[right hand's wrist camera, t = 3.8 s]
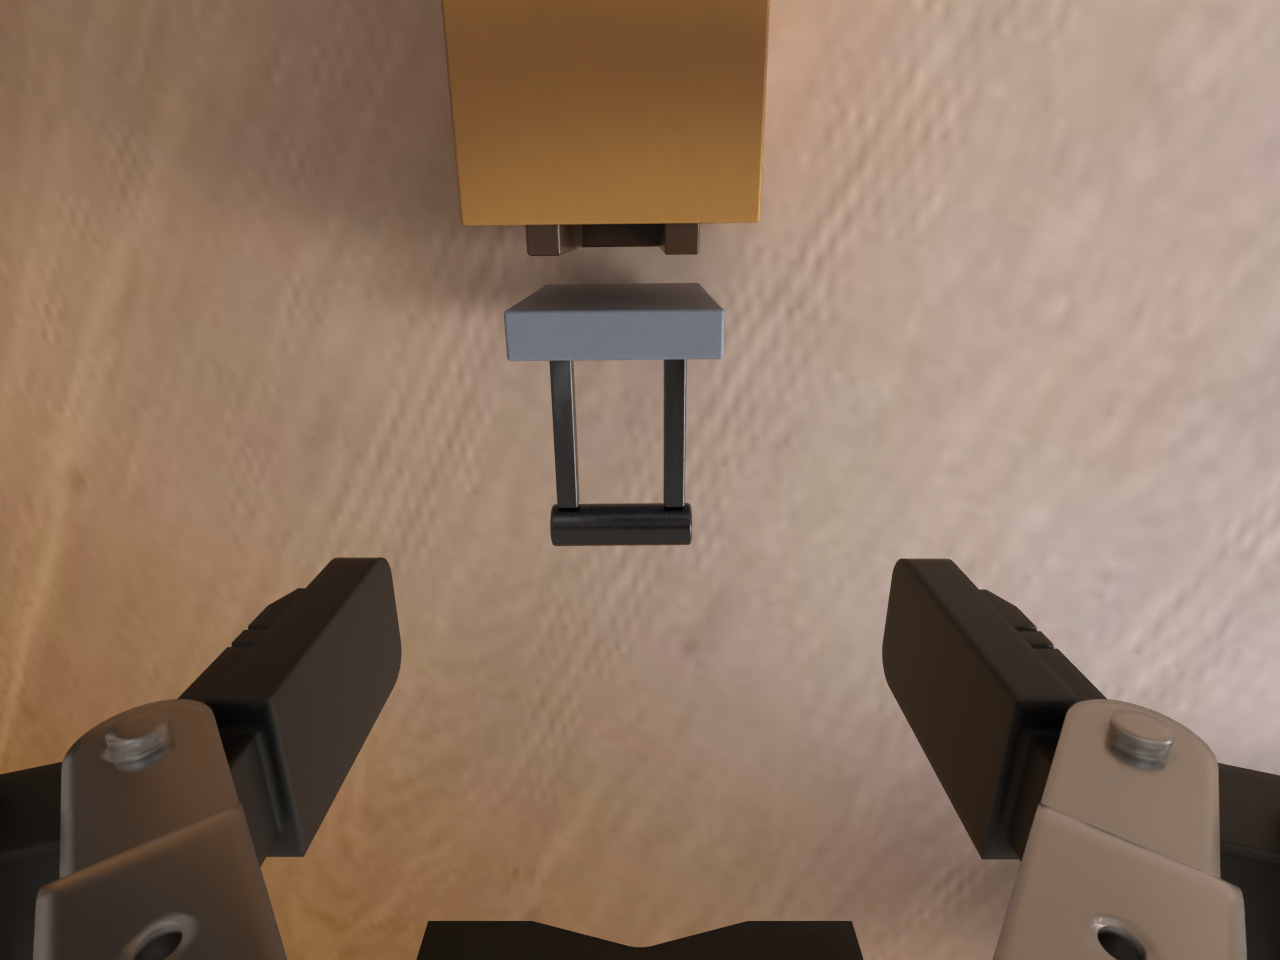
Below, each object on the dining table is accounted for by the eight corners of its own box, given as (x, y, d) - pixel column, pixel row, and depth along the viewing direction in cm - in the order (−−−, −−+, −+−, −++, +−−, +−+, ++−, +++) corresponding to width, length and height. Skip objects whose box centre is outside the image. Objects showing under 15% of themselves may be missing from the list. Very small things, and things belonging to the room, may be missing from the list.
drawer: (695, 480, 26) (716, 578, 19) (555, 481, 26) (522, 579, 19) (711, -390, 18) (758, -802, 11) (508, -387, 18) (419, -796, 11)
